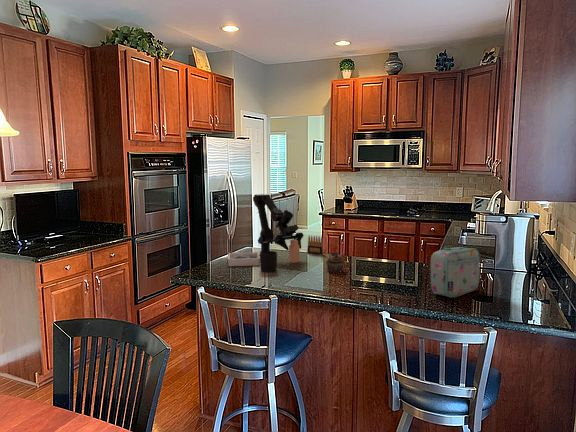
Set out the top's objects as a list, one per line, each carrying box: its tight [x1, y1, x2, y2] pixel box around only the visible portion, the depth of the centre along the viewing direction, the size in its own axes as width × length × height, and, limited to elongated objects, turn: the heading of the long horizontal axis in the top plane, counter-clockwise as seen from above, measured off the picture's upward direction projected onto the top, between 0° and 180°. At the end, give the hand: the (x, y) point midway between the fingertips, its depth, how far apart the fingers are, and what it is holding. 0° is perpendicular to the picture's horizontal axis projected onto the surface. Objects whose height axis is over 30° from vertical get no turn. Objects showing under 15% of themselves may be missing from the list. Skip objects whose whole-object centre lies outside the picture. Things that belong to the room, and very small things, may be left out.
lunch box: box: [429, 246, 481, 298], centre depth 196 cm, size 27×10×21 cm, turn 126°
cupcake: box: [325, 252, 344, 273], centre depth 238 cm, size 10×10×10 cm
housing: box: [227, 251, 260, 267], centre depth 259 cm, size 18×18×4 cm
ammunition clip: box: [307, 234, 324, 255], centre depth 284 cm, size 11×2×12 cm, turn 63°
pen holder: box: [259, 250, 278, 273], centre depth 239 cm, size 9×9×10 cm
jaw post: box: [288, 239, 300, 264], centre depth 260 cm, size 4×4×13 cm
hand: (294, 249), depth 260 cm, fingers open, 9 cm apart
